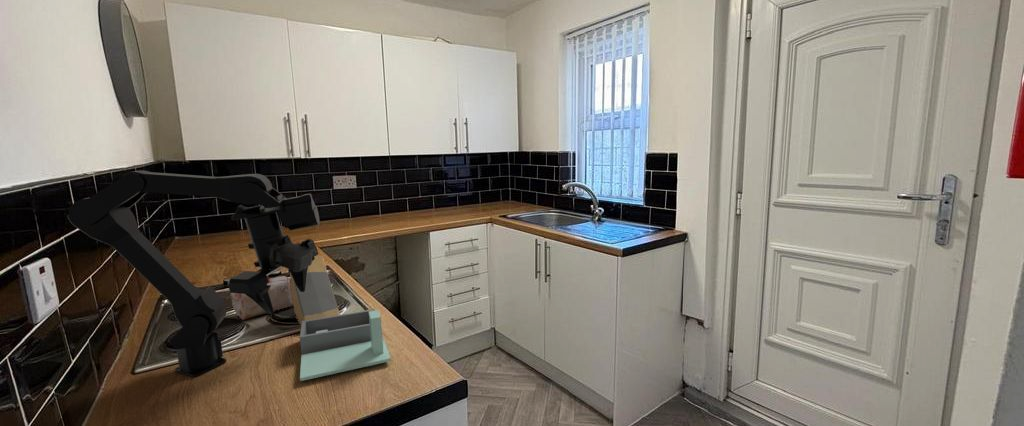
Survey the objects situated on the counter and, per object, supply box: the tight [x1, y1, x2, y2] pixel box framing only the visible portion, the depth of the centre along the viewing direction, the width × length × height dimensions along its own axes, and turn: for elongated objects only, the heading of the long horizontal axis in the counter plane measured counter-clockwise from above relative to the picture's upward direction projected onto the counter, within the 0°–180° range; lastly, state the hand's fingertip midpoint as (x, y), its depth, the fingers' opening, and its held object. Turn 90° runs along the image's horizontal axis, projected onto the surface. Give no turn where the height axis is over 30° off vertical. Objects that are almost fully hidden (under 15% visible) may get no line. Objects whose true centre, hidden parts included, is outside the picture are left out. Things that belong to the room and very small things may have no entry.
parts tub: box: [299, 308, 376, 355], centre depth 97 cm, size 16×9×4 cm, turn 113°
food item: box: [230, 275, 294, 321], centre depth 114 cm, size 14×8×10 cm, turn 133°
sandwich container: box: [289, 255, 341, 326], centre depth 107 cm, size 9×15×15 cm, turn 38°
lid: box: [299, 309, 392, 382], centre depth 87 cm, size 17×10×10 cm, turn 115°
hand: (287, 302), depth 92 cm, fingers open, 9 cm apart
